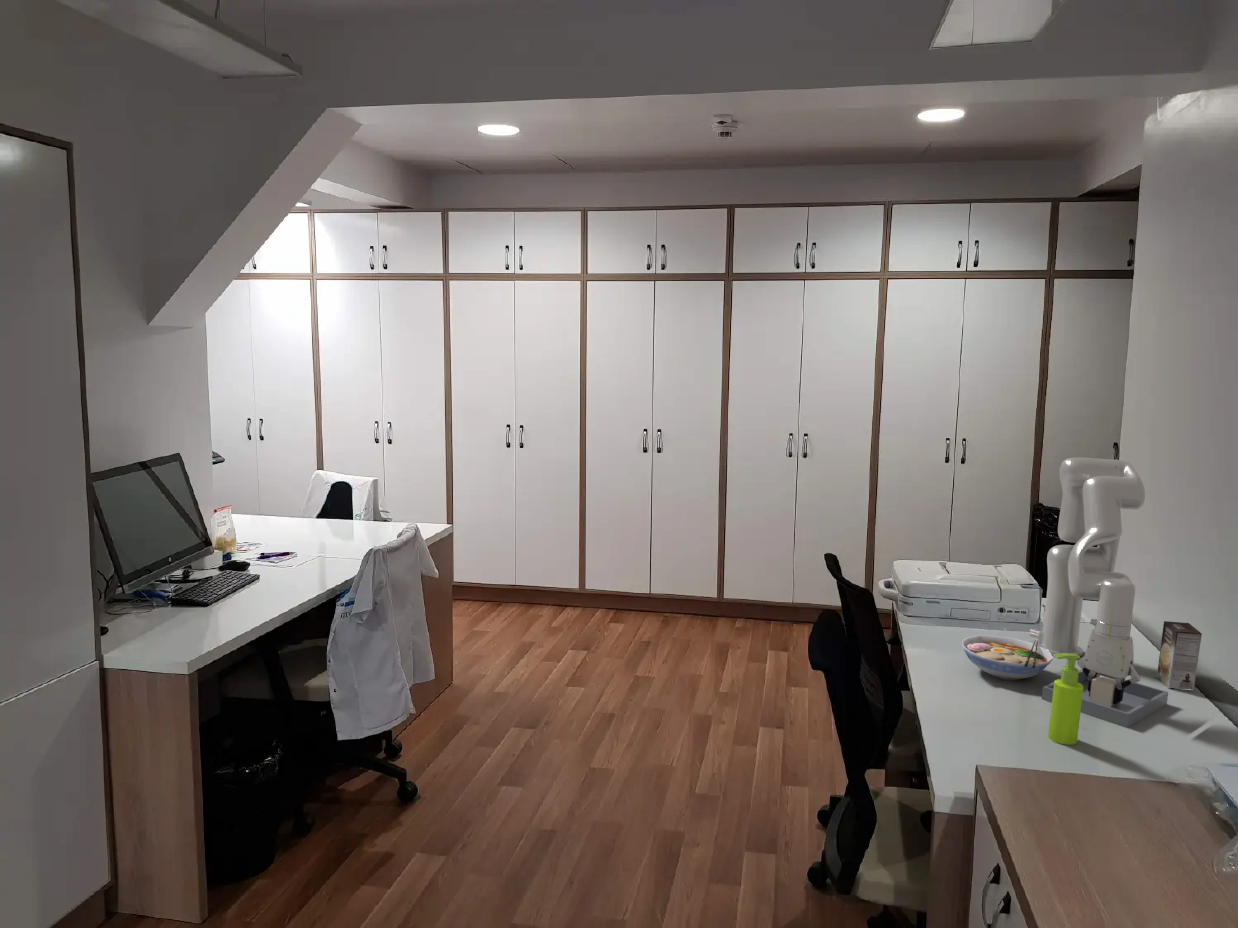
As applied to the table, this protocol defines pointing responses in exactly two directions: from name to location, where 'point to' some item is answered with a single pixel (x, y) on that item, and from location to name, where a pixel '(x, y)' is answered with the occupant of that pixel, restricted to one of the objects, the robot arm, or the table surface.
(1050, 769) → the table surface
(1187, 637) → the coffee box
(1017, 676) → the ramen bowl
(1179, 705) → the table surface
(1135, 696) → the parts tray
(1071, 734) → the soap dispenser
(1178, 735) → the table surface
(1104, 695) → the tan wooden cube
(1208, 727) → the table surface
